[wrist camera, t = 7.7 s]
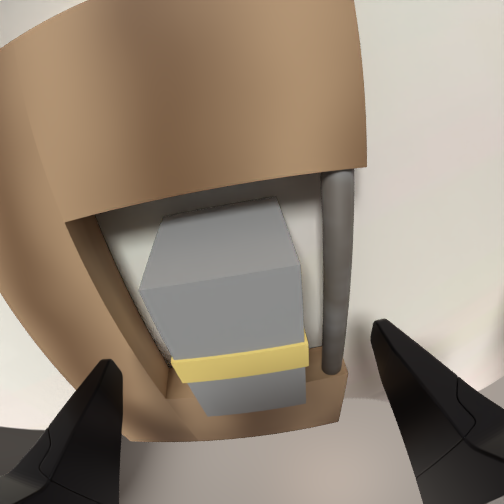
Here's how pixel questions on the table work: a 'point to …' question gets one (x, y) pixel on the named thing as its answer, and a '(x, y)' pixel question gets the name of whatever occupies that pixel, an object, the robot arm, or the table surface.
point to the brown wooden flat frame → (171, 174)
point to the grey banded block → (230, 306)
